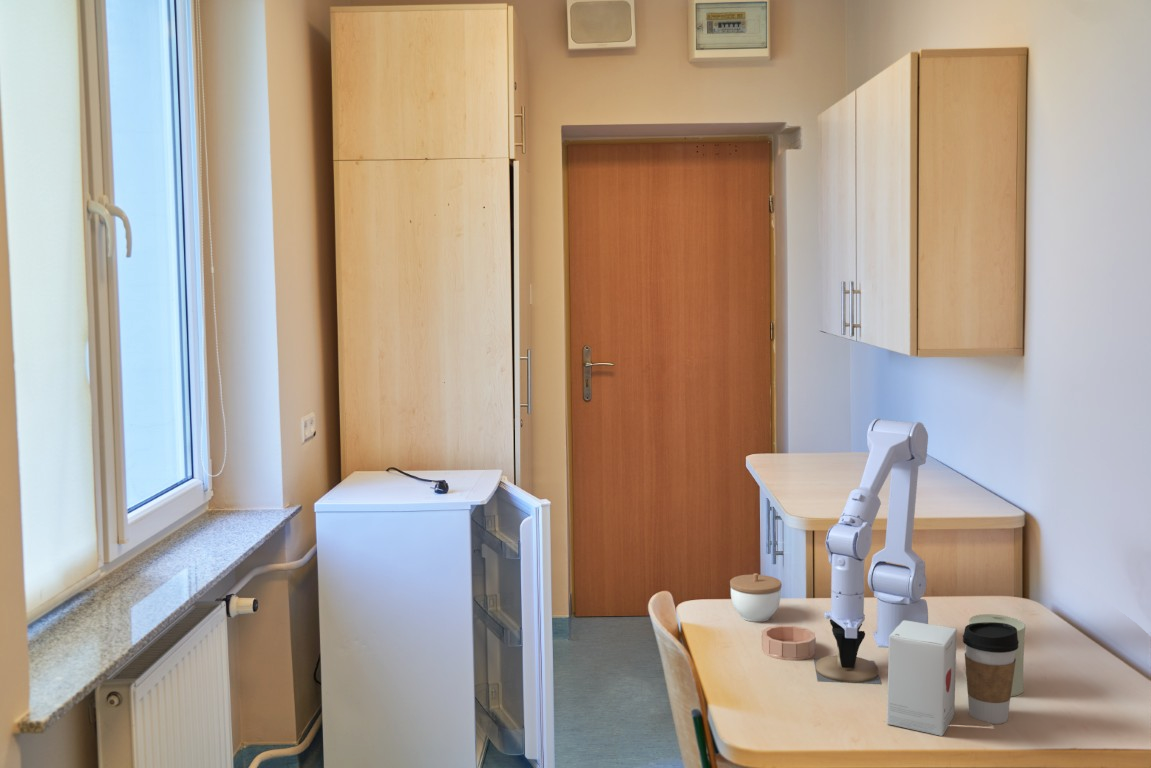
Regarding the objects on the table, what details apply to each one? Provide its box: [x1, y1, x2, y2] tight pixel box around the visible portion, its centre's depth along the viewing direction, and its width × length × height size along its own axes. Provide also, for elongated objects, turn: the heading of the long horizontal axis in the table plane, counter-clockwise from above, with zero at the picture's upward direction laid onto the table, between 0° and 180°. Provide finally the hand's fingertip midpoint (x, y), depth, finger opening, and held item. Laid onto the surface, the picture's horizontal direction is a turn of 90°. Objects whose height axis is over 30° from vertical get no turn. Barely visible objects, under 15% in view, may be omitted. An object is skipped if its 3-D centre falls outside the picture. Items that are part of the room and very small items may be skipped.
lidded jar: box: [729, 572, 782, 623], centre depth 218 cm, size 11×11×9 cm
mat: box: [813, 657, 882, 685], centre depth 188 cm, size 11×11×1 cm
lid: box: [815, 648, 879, 684], centre depth 188 cm, size 11×11×5 cm
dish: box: [761, 624, 817, 661], centre depth 198 cm, size 10×10×4 cm
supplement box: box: [886, 620, 958, 737], centre depth 167 cm, size 9×9×15 cm
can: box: [968, 613, 1026, 697], centre depth 180 cm, size 9×9×12 cm
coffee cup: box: [962, 622, 1019, 725], centre depth 168 cm, size 8×8×15 cm
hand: (846, 663), depth 188 cm, fingers closed on lid, 3 cm apart
